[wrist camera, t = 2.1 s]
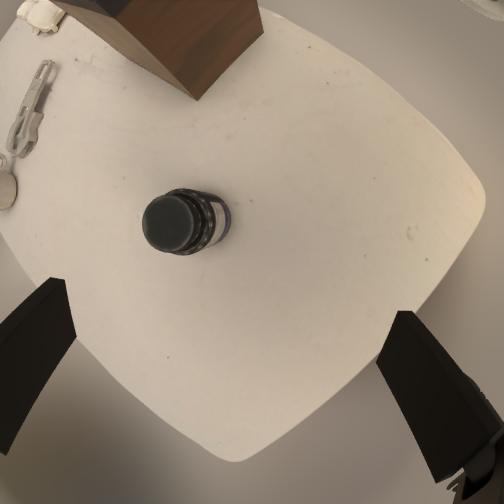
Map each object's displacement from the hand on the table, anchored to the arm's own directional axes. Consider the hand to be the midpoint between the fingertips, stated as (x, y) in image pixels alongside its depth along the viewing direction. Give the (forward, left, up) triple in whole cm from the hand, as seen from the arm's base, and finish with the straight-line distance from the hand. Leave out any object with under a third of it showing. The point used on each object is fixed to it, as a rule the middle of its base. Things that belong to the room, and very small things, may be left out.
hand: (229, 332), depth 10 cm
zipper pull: (+47, +7, -23) cm, 53 cm away
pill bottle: (+8, +2, -23) cm, 24 cm away
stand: (+26, -15, -23) cm, 38 cm away
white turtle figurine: (+66, -9, -23) cm, 71 cm away
